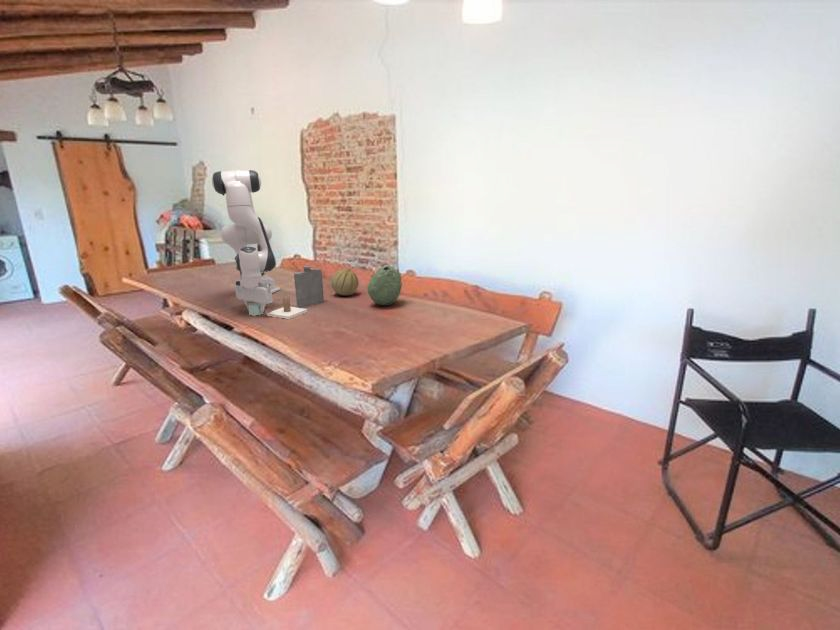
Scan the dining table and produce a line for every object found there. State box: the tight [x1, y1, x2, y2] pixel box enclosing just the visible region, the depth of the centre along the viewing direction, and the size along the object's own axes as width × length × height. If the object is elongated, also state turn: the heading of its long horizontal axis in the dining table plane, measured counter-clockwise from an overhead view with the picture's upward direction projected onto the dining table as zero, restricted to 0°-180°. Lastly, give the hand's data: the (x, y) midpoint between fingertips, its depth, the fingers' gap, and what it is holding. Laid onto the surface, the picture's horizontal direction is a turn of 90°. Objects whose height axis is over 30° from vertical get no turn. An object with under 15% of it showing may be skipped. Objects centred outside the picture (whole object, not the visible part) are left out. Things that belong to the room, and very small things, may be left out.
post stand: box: [266, 295, 308, 320], centre depth 208 cm, size 13×13×8 cm
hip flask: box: [293, 265, 325, 309], centre depth 222 cm, size 16×4×20 cm, turn 140°
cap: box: [247, 302, 264, 317], centre depth 209 cm, size 6×6×5 cm
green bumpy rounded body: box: [366, 264, 403, 307], centre depth 220 cm, size 16×19×20 cm
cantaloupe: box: [330, 268, 359, 297], centre depth 240 cm, size 15×15×15 cm
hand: (255, 310), depth 209 cm, fingers closed on cap, 6 cm apart
